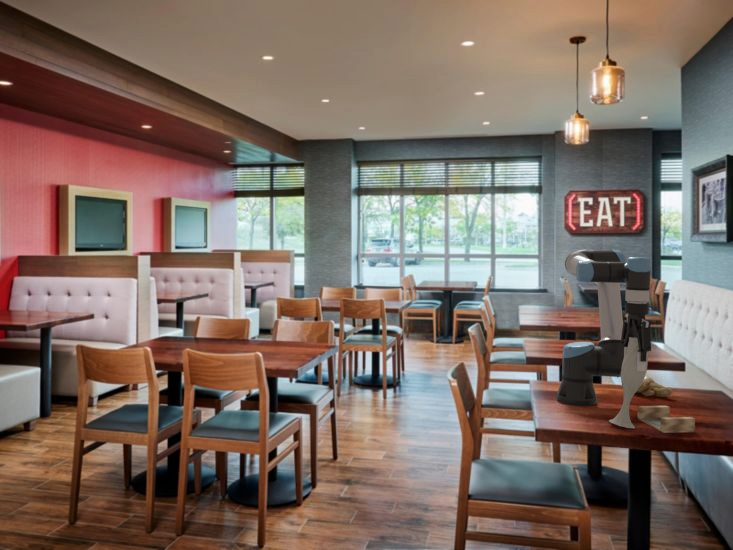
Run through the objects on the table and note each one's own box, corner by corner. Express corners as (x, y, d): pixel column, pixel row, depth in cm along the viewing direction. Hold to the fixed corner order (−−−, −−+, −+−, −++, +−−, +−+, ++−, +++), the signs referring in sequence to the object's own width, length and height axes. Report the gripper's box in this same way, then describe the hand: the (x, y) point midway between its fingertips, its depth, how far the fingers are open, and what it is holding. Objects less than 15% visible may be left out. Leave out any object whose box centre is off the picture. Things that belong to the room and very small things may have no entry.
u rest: (663, 432, 204) (664, 419, 203) (637, 418, 219) (637, 406, 219) (694, 432, 205) (695, 418, 205) (665, 418, 221) (666, 405, 220)
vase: (604, 418, 214) (622, 335, 213) (626, 422, 215) (644, 339, 214) (616, 425, 206) (635, 339, 204) (639, 430, 206) (658, 343, 205)
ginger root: (621, 385, 264) (627, 368, 263) (659, 396, 262) (665, 379, 261) (629, 395, 249) (635, 377, 248) (669, 407, 246) (675, 389, 245)
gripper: (665, 305, 198) (662, 374, 200) (631, 299, 219) (629, 362, 220) (643, 305, 198) (640, 374, 199) (611, 299, 218) (609, 362, 219)
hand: (634, 368), depth 209 cm, fingers closed on vase, 8 cm apart
